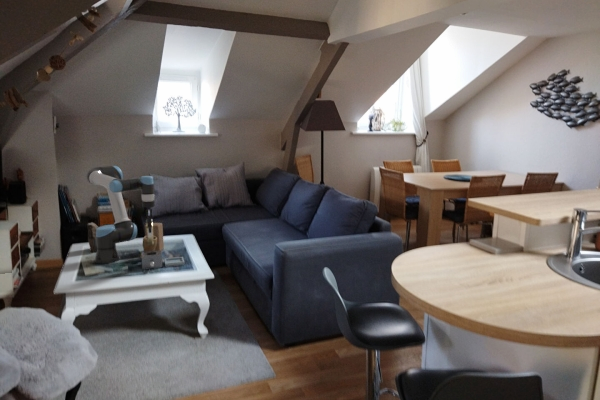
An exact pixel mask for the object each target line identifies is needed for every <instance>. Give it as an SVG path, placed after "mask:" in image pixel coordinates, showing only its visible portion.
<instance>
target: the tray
mask: <svg viewBox="0 0 600 400" xmlns="http://www.w3.org/2000/svg"><path fill="white" fill-rule="evenodd" d="M163 259H164V267H165V268H166V267H167V268H168V267H169V268H170V267H178V266H179V267H180V266H185V260H184V256H176V257H167V258H165V257H164V258H163Z"/></svg>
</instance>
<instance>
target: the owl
mask: <svg viewBox="0 0 600 400" xmlns="http://www.w3.org/2000/svg"><path fill="white" fill-rule="evenodd" d="M99 227H100V226H98V225H97V224H96V223H95V222H92V221H91V222H88V223H87V224H86V229H87V242H88V244H89V250H90V249H91V252H90V253H97V241H96V229H97V228H99Z"/></svg>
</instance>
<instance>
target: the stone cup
mask: <svg viewBox="0 0 600 400" xmlns="http://www.w3.org/2000/svg"><path fill="white" fill-rule="evenodd" d="M156 245H157V237H155V236H154V244H153V245H147V236H145V235H144V237H143V238H142V248H143V251H142V252H148V251H155V248H156ZM139 258H140V259H141V260H142V253H141V254H139Z"/></svg>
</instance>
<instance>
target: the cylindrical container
mask: <svg viewBox="0 0 600 400" xmlns="http://www.w3.org/2000/svg"><path fill="white" fill-rule="evenodd" d="M151 220H152V236H153V223H154V222H153V218H151ZM145 225H146V229H147V245H153V244H154V236H153V237H150V238H148V228H147V226H148V222H147V219H146V220H145Z"/></svg>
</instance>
